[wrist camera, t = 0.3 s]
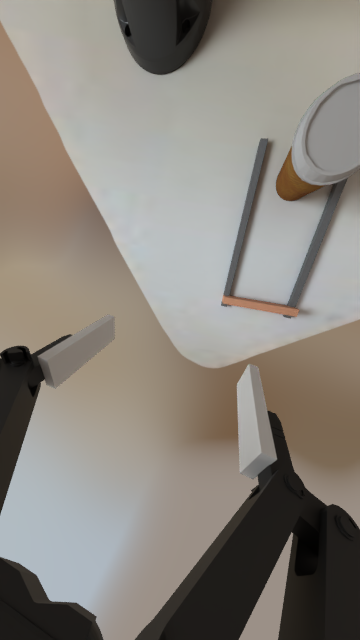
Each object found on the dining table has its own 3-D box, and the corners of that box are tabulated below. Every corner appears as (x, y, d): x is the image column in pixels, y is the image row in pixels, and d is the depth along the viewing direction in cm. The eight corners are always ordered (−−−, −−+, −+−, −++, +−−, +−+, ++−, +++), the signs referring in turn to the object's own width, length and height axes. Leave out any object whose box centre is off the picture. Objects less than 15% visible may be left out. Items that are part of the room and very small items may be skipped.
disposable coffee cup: (339, 160, 27) (427, 87, 16) (299, 219, 31) (348, 194, 20) (289, 136, 27) (340, 47, 16) (255, 197, 31) (279, 160, 20)
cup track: (259, 142, 28) (264, 129, 26) (356, 146, 26) (374, 132, 23) (221, 304, 39) (221, 307, 36) (288, 316, 37) (294, 321, 34)
